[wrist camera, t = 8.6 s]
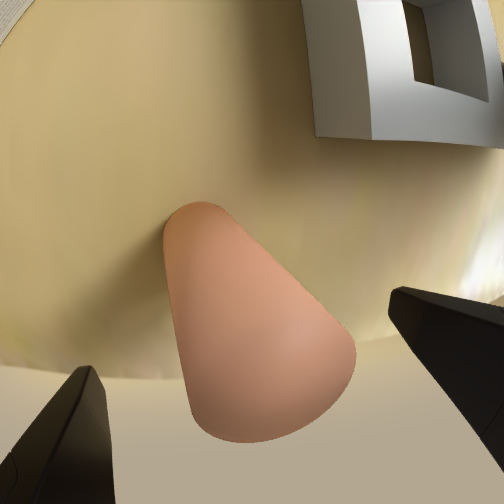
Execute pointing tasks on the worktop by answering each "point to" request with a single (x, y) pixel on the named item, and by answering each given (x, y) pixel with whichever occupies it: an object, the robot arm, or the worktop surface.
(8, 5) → the skincare box
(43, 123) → the worktop surface
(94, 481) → the robot arm
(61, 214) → the worktop surface
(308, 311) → the dowel
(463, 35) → the socket block
